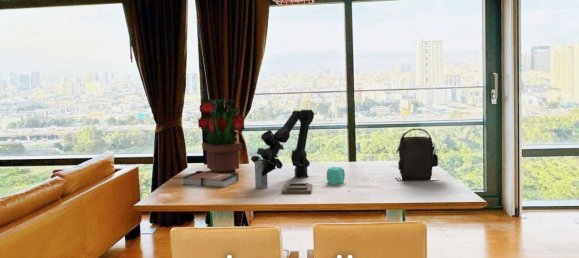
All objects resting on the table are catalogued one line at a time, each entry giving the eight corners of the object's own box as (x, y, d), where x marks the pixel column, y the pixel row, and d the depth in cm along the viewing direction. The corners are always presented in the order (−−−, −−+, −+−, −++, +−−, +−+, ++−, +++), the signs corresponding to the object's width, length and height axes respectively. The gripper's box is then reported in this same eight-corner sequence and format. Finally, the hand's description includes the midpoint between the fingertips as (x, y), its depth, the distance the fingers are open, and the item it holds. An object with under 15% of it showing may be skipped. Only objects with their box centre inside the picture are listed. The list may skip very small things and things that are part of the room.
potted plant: (200, 170, 303) (197, 99, 298) (233, 166, 313) (230, 98, 308) (211, 176, 283) (207, 101, 278) (246, 172, 293) (243, 99, 288)
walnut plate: (284, 187, 250) (284, 182, 250) (312, 186, 249) (312, 182, 249) (282, 193, 236) (281, 189, 236) (311, 193, 235) (311, 188, 235)
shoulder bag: (435, 177, 264) (436, 127, 261) (440, 180, 255) (440, 128, 252) (394, 177, 265) (394, 128, 262) (397, 181, 256) (397, 129, 253)
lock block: (261, 186, 254) (260, 160, 252) (267, 187, 251) (266, 161, 249) (254, 188, 250) (253, 162, 248) (260, 189, 247) (259, 162, 245)
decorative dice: (330, 180, 263) (330, 166, 262) (344, 181, 260) (344, 167, 259) (326, 183, 255) (326, 169, 255) (341, 184, 253) (340, 169, 252)
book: (181, 185, 263) (181, 176, 262) (198, 179, 279) (198, 170, 278) (223, 188, 253) (223, 179, 253) (238, 181, 269) (238, 172, 269)
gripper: (252, 140, 257) (238, 164, 250) (278, 143, 245) (264, 168, 238) (263, 153, 264) (249, 176, 257) (288, 156, 252) (275, 180, 245)
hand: (259, 175), depth 249 cm, fingers closed on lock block, 4 cm apart
